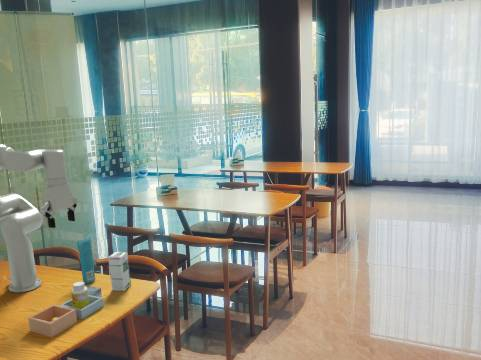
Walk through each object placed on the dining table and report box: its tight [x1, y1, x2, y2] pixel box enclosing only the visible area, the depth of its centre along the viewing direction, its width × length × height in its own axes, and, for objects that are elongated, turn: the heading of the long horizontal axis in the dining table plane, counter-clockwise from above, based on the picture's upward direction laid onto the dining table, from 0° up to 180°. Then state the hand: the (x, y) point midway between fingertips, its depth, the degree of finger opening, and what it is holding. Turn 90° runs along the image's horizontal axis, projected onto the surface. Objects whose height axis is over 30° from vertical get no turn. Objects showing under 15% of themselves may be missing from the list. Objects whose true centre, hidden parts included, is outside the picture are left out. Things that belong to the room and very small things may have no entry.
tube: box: [76, 235, 96, 284], centre depth 194 cm, size 7×5×19 cm, turn 158°
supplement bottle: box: [71, 281, 89, 309], centre depth 167 cm, size 6×6×10 cm
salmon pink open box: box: [27, 304, 78, 338], centre depth 156 cm, size 11×11×6 cm
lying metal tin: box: [85, 285, 103, 298], centre depth 179 cm, size 9×4×4 cm, turn 72°
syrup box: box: [107, 251, 132, 292], centre depth 186 cm, size 6×6×14 cm
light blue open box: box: [59, 295, 105, 320], centre depth 168 cm, size 11×11×4 cm
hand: (62, 224), depth 182 cm, fingers open, 9 cm apart
